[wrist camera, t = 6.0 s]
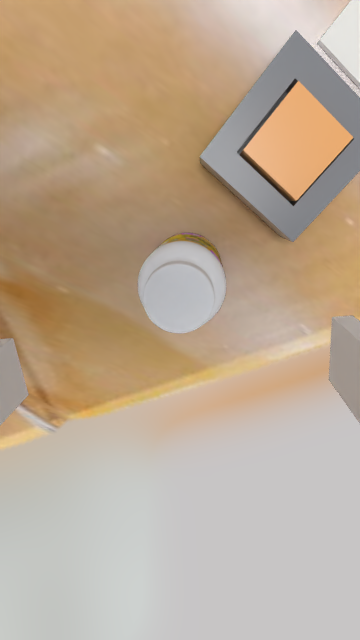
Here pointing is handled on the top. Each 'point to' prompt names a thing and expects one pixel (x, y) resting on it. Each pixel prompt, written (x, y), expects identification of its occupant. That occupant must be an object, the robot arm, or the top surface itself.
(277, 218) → the frame
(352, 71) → the tile
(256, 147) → the plunger
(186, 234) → the supplement bottle
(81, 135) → the top surface
